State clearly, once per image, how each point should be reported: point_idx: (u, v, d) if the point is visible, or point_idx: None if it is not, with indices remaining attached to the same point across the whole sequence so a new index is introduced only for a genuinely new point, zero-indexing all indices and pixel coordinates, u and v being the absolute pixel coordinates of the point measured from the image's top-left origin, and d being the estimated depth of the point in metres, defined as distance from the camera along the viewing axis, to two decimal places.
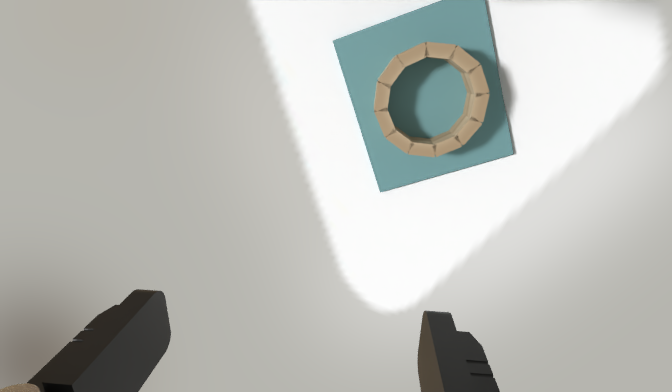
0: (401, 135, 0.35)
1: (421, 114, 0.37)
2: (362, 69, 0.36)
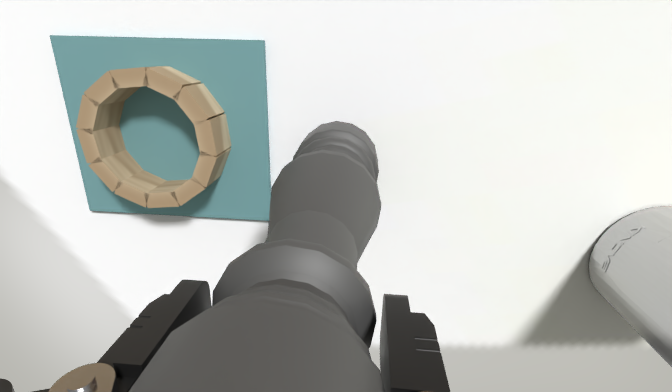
0: (109, 93, 0.25)
1: (150, 123, 0.29)
2: (219, 67, 0.27)
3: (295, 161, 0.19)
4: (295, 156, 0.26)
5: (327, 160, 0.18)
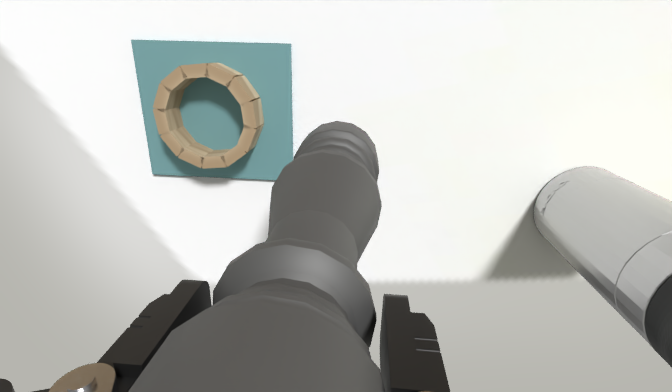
0: (179, 82, 0.35)
1: (203, 106, 0.39)
2: (257, 63, 0.37)
3: (295, 161, 0.19)
4: (295, 156, 0.26)
5: (327, 160, 0.18)
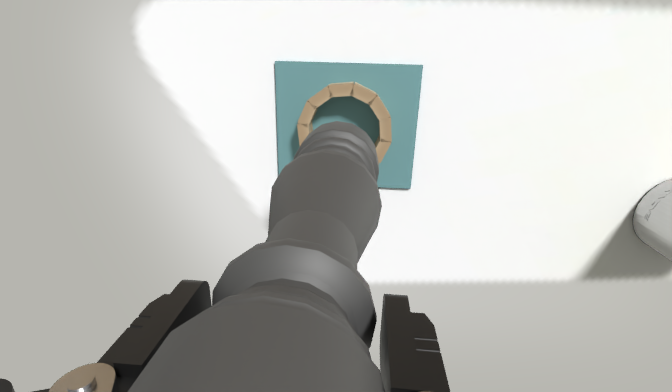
0: (325, 100, 0.39)
1: (334, 120, 0.42)
2: (389, 82, 0.40)
3: (295, 161, 0.19)
4: (295, 156, 0.26)
5: (327, 160, 0.18)
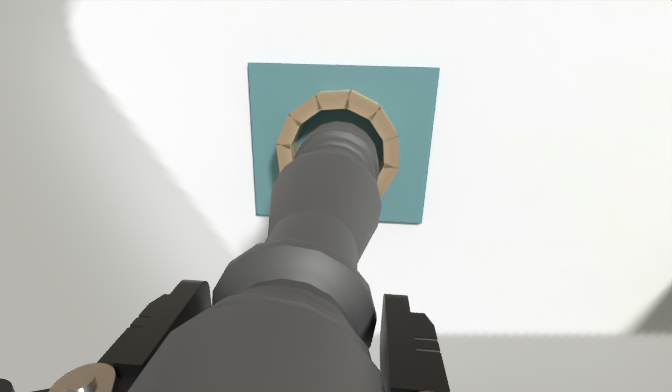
0: (311, 114, 0.29)
1: None
2: (396, 90, 0.31)
3: (295, 161, 0.19)
4: (295, 156, 0.26)
5: (327, 160, 0.18)
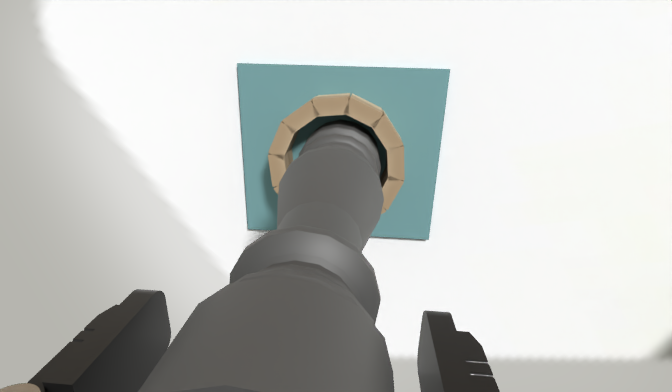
0: (307, 121, 0.26)
1: None
2: (401, 94, 0.28)
3: (302, 156, 0.20)
4: (301, 153, 0.27)
5: (332, 156, 0.19)
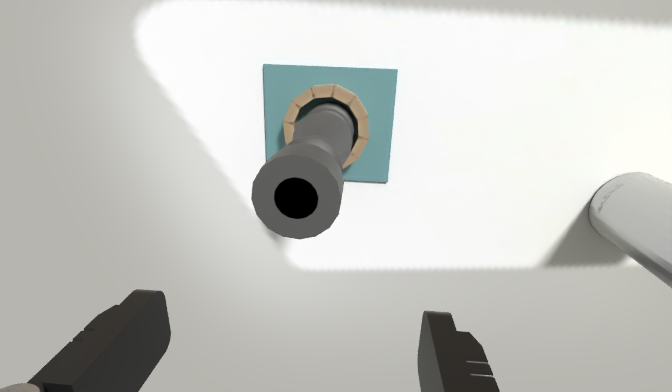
0: (308, 101, 0.42)
1: None
2: (368, 85, 0.44)
3: (306, 117, 0.36)
4: None
5: (323, 116, 0.36)
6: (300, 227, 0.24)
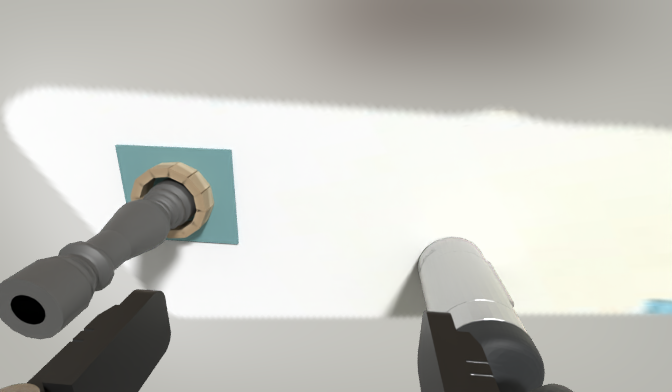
0: (149, 180, 0.48)
1: None
2: (207, 163, 0.50)
3: (123, 205, 0.42)
4: None
5: (134, 206, 0.41)
6: (38, 330, 0.29)
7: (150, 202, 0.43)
